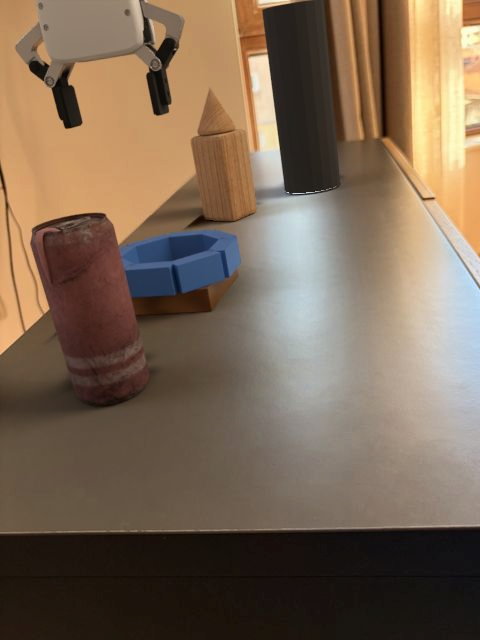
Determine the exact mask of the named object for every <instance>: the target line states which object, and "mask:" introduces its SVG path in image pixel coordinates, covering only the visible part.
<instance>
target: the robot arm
mask: <svg viewBox="0 0 480 640" xmlns="http://www.w3.org/2000/svg"><path fill="white" fill-rule="evenodd" d="M34 1H35V7H36V12H37V17H38V21H37V22H36V23H35V24H34V25H33V27H31V28H30V29H29V30H28V31H27V32H26V33H25V34H24V36H22V37H21V38H20V39H19V40H18V41H17V42H16V43H15V45H14V49H15V51H16V53H17V54H18V55H19V57H20V58H21V59H22V61H23V62H24V63H25V64H26V65H27V67H28V69H29V72H30V73H32V74H33V75H34V76H36V78H38V79H40V80H41V81H42V82H43V83H44V85H45V86H46V87H47V88H49V89H51V92H52V96H53V100H54V105H55V108H56V112H57V116H58V119H59V120H60V121H62V124H63V127H64V129H66V130H69V129H74V128H77V127H80V126H82V125H83V117H82V113H81V109H80V106H79V101H78V97H77V93H76V90H75V89H76V88H75V86H74V85H72V84H70V83H69V79H70V77H71V74H72V72H73V69H74V67H75V65H76V63H89V62H95V61H101V60H109V59H113V58H120V57H125V56H132V55H136V56H137V57H138V59H140V60H141V61H142V62H143V63H144V64H145V65H146V66H147V68H148V71H147V72H146V75H145V77H146V84H147V88H148V93H149V97H150V103H151V109H152V112H153V115H154V116H156V117H159V116H163V115H166V114H169V113H170V107H169V106H170V105H172V95H171V89H170V85H169V78H168V73H167V70H168V68H169V67H170V64H171V62H172V60H173V58H174V57H175V55H176V53H177V51H178V50H179V48H180V40H181V38H182V34H183V30H184V26H185V20H186V19H185V18H184V16H183V15H181V14H179V13H176V12H174V11H171V10H170V9H169V10H168V9H166V8H163V7H161V6H158V5H156V4H153V3H150V2H149V1H148V0H34ZM153 21H154V22H157V23H159V24H162V25H163V26H164V27H165V34H164V39H163V40H162V42H161V44H159V45H160V46H159V47H158V48H157V47H156V46H155V44H156V32H155V27H154V22H153ZM42 43H43V44H44V47H45V50H46V53H47V56H48V58H49V59H50V60H51V61H50V63H49V64H48V63H47V62H46V61H44V60H43V59H42V58H41V56H40V54H39V53H38V48H39V46H41V44H42Z"/></svg>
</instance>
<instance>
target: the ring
mask: <svg viewBox="0 0 480 640" xmlns="http://www.w3.org/2000/svg"><path fill="white" fill-rule="evenodd" d="M119 250H120V254H121V258H122V262H123V266H124V270H125V274H126V279H127V283H128V287H129V291H130V295H131V298H136V297H153V296H169V295H176V293H177V292H180V293H182V294H183V293H186V292H189V291H192V290H195V289H199V288H202V287H205V286H208V285H211V284H214V283H217V282H220V281H223V280H225V278H229V277H230V276H231V275H232V274H233V272H234V271H235V270H236V269H237V270H238V267H240V265H241V264H242V258H241V253H240V246H239V240H238V236H237V235H236V234H233V233H229V232H225V231H222V230H218V229H212V230H211V229H197V230H186V231H185V230H184V231H175V232H170V233H168V234H166V233H163V234H159V235H156V236H155V235H154V236H151V237H148V238H144V239H141V240H137V241H134V242H129V243H127V244H125V245H123V246H119Z"/></svg>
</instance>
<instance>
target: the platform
mask: <svg viewBox="0 0 480 640" xmlns="http://www.w3.org/2000/svg"><path fill="white" fill-rule="evenodd" d="M238 277H239V271H238V268H237V269H236V270H235V271H234V272H233V274H232V275H231V276H230V277H229V278H225V280H223V281H220V282H217V283H214V284H211V285H208V286H205V287H202V288H199V289H195V290H192V291H189V292H186V293H183V294H182V293H180V292H177V293H176V295H169V296H153V297H136V298H131V299H132V303H133V307H134V312H135V316H143V315H147V316H148V315H162V314H181V313H183V314H184V313H201V312H212V311H213V310H214V309H215V307H216V306H217V305H218V304H219V302H220V301H221V299H222V298H223V297H224V296H225V294H226V293H227V292H228V291H229V289H230V288H231V286H232V285H233V284H234V283H235V281H236V280H237V278H238Z"/></svg>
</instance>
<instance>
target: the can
mask: <svg viewBox="0 0 480 640" xmlns="http://www.w3.org/2000/svg"><path fill="white" fill-rule="evenodd" d="M30 230H31V237H30V241H29V245H30V248H31V252H32V255H33V258H34V262H35V265H36V269H37V271H38V275H39V279H40V282H41V285H42V289H43V292H44V295H45V299H46V302H47V305H48V308H49V312H50V315H51V319H52V322H53V325H54V328H55V332H56V335H57V339H58V343H59V345H60V349H61V352H62V355H63V359H64V363H65V366H66V368H67V372H68V375H69V379H70V382H71V386H72V389H73V392H74V395H75V396H76V397H77V398H78V399H79V400H80V401H81V402H83V403H84V404H86V405H89V406H94V407H96V406H97V407H102V406H112V405H117V404H121V403H123V402H126V401H128V400H130V399H133V398H134V397H136V396H138V395H140V394H141V393H142V392H143V391H144V390H145V389H146V388H147V385H148V383H149V380H150V377H151V374H150V370H149V367H148V366H149V365H148V361H147V358H146V353H145V350H144V345H143V341H142V337H141V333H140V329H139V324H138V321H137V317H136V316H137V315H135V312H134V307H133V303H132V299H131V295H130V291H129V287H128V283H127V279H126V274H125V270H124V266H123V262H122V258H121V254H120V250H119V248H120V246H119V242H118V241H119V240H118V238H117V234H116V229H115V226H114V223H113V222H112V221H111V220H110V219H109V217H107V214H106V213H104V212H86V213H77V214H71V215H67V216H61V217H58V218H53V219H50V220H47V221H43V222H42V223H39V224H37V225H35V226H34V227H32V228H31V229H30Z"/></svg>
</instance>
